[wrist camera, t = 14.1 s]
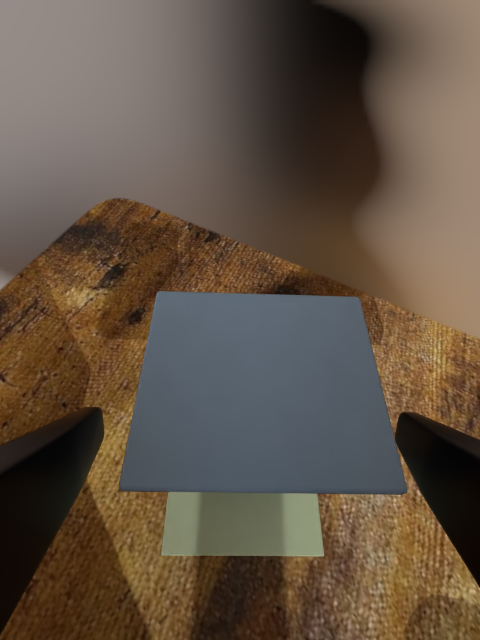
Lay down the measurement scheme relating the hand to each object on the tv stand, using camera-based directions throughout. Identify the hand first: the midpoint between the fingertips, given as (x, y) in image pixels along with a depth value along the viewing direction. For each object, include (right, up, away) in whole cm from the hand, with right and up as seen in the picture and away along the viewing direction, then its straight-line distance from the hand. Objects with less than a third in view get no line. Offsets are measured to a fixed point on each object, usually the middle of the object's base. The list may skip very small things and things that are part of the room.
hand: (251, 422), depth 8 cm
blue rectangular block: (0, -3, +6) cm, 7 cm away
